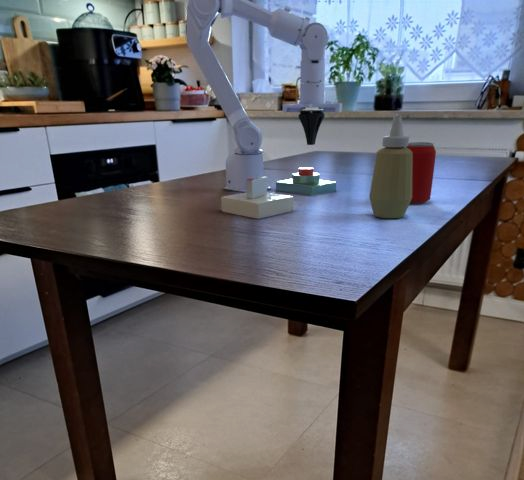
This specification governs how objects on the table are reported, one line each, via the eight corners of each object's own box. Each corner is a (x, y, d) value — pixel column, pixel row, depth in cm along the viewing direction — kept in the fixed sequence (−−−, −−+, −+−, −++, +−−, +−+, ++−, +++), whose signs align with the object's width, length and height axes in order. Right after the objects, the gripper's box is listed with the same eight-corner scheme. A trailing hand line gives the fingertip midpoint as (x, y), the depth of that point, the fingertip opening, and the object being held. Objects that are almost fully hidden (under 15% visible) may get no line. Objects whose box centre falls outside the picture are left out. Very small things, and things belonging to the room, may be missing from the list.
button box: (275, 190, 130) (275, 174, 128) (299, 186, 136) (299, 170, 134) (312, 196, 122) (312, 178, 120) (335, 191, 128) (336, 174, 126)
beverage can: (426, 199, 116) (433, 141, 111) (432, 204, 110) (440, 144, 105) (396, 199, 117) (401, 142, 111) (400, 204, 111) (406, 144, 105)
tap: (261, 193, 108) (260, 175, 107) (267, 194, 108) (267, 175, 106) (246, 198, 104) (245, 179, 102) (252, 198, 103) (251, 179, 102)
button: (295, 175, 127) (295, 168, 127) (305, 174, 130) (305, 166, 129) (306, 177, 125) (306, 169, 124) (316, 175, 127) (316, 168, 126)
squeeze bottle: (385, 222, 96) (395, 116, 88) (359, 214, 102) (365, 115, 94) (419, 217, 99) (431, 114, 91) (391, 210, 106) (400, 113, 98)
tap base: (221, 211, 108) (220, 196, 106) (256, 204, 114) (256, 189, 113) (258, 219, 100) (257, 202, 99) (293, 211, 107) (293, 195, 105)
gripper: (277, 83, 122) (277, 145, 128) (336, 81, 116) (333, 146, 122) (289, 83, 127) (288, 143, 133) (345, 82, 122) (342, 144, 128)
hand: (311, 144), depth 128 cm, fingers closed
